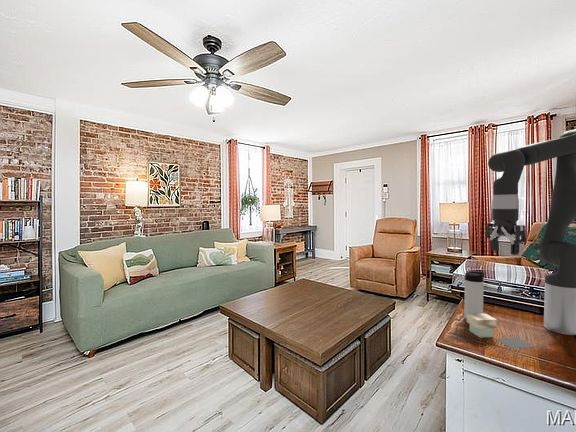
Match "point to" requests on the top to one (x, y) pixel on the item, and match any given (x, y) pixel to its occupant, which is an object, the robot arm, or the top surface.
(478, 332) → the mint green open box
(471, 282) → the travel mug
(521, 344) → the mat
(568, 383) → the top surface
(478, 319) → the lid
